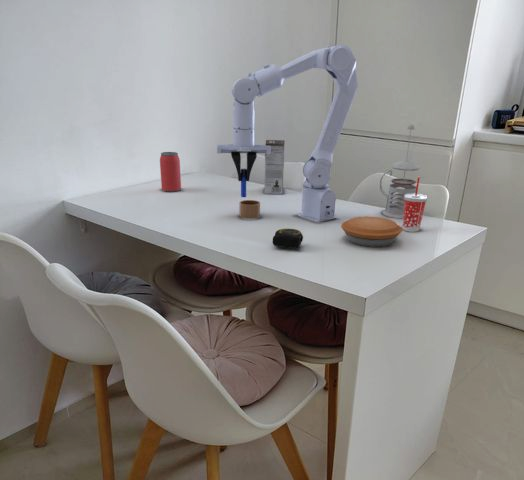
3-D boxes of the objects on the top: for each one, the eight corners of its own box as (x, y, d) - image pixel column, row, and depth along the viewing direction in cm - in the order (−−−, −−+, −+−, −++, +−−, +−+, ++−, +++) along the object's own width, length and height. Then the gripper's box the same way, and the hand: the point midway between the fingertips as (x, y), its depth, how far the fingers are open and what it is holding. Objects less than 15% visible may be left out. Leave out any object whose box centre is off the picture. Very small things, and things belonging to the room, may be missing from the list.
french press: (414, 219, 158) (428, 127, 146) (374, 215, 161) (384, 125, 149) (416, 211, 166) (430, 123, 154) (378, 207, 169) (389, 121, 157)
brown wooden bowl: (264, 217, 156) (264, 203, 154) (248, 221, 153) (248, 206, 151) (251, 213, 160) (251, 199, 158) (235, 216, 157) (235, 201, 155)
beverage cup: (413, 225, 152) (421, 174, 146) (426, 231, 148) (435, 178, 141) (395, 227, 150) (402, 175, 144) (407, 233, 146) (415, 179, 139)
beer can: (185, 189, 186) (183, 153, 180) (172, 193, 181) (170, 155, 175) (170, 187, 189) (168, 150, 183) (157, 190, 184) (155, 153, 178)
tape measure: (271, 249, 131) (271, 234, 130) (278, 241, 137) (278, 226, 135) (298, 252, 130) (299, 237, 128) (304, 244, 136) (305, 229, 134)
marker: (247, 196, 154) (247, 168, 150) (244, 197, 153) (244, 169, 149) (242, 195, 154) (242, 168, 151) (239, 196, 153) (239, 169, 150)
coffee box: (264, 187, 191) (265, 139, 183) (282, 188, 191) (284, 139, 183) (264, 193, 183) (265, 143, 175) (283, 194, 183) (285, 144, 175)
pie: (359, 252, 131) (362, 232, 128) (329, 234, 143) (330, 215, 141) (413, 246, 136) (416, 226, 133) (379, 229, 148) (381, 211, 146)
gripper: (216, 129, 141) (217, 183, 147) (272, 130, 142) (270, 183, 148) (216, 126, 147) (217, 178, 153) (269, 127, 148) (268, 178, 155)
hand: (243, 180), depth 151 cm, fingers closed on marker, 1 cm apart
